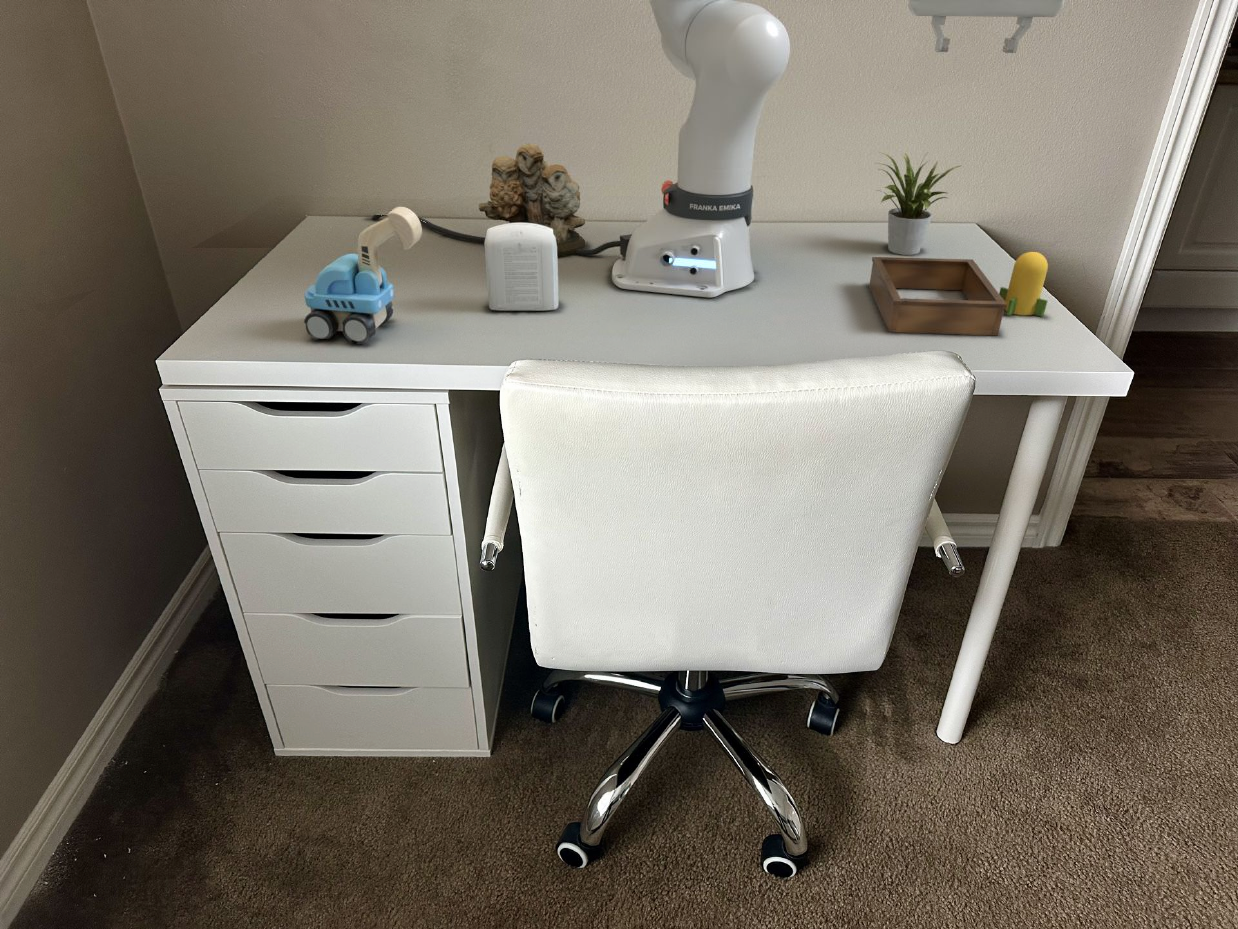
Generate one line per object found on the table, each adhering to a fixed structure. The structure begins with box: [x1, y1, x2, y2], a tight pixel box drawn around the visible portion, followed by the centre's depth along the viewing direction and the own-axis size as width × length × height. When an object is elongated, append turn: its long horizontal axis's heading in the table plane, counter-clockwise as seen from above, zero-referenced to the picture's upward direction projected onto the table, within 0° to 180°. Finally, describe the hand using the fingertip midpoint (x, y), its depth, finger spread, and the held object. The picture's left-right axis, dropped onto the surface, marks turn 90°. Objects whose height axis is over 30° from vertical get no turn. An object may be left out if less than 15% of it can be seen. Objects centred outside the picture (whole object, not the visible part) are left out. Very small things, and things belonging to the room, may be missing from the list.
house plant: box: [874, 151, 961, 256], centre depth 146 cm, size 14×14×16 cm
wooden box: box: [868, 256, 1007, 336], centre depth 126 cm, size 15×18×5 cm
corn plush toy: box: [998, 251, 1049, 318], centre depth 125 cm, size 5×5×8 cm
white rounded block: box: [483, 222, 560, 311], centre depth 125 cm, size 10×4×12 cm, turn 92°
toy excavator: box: [303, 206, 423, 345], centre depth 116 cm, size 9×17×17 cm, turn 80°
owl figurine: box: [478, 142, 587, 258], centre depth 147 cm, size 18×12×17 cm, turn 88°
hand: (975, 52), depth 124 cm, fingers open, 8 cm apart
